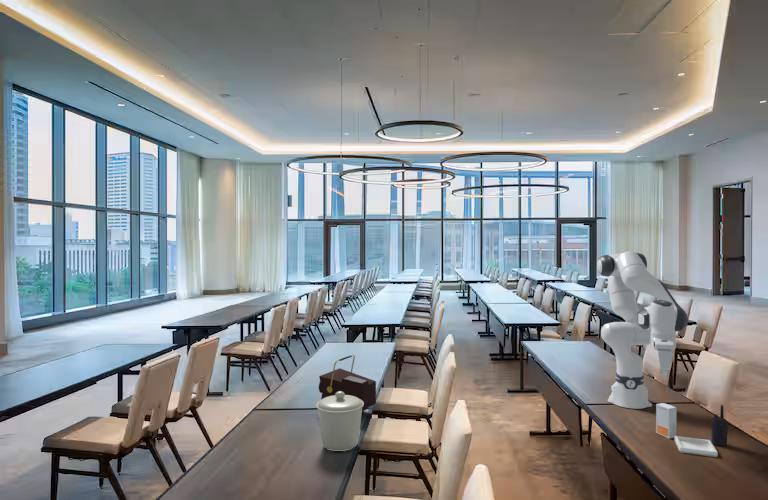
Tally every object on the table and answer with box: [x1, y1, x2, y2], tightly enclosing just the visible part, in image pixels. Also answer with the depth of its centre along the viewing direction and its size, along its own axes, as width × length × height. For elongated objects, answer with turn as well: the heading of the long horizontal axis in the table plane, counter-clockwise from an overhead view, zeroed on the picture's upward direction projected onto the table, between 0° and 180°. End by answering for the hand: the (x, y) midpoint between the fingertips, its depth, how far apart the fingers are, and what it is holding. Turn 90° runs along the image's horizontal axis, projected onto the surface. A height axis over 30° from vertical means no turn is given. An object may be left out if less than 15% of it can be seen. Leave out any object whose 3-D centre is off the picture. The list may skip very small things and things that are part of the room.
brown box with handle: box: [318, 354, 377, 413], centre depth 225 cm, size 16×23×25 cm
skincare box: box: [655, 402, 678, 440], centre depth 196 cm, size 6×4×12 cm
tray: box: [673, 435, 719, 458], centre depth 184 cm, size 12×12×2 cm
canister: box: [315, 391, 364, 450], centre depth 188 cm, size 18×18×21 cm
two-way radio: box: [711, 404, 729, 446], centre depth 186 cm, size 6×4×15 cm
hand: (663, 376), depth 196 cm, fingers open, 8 cm apart
